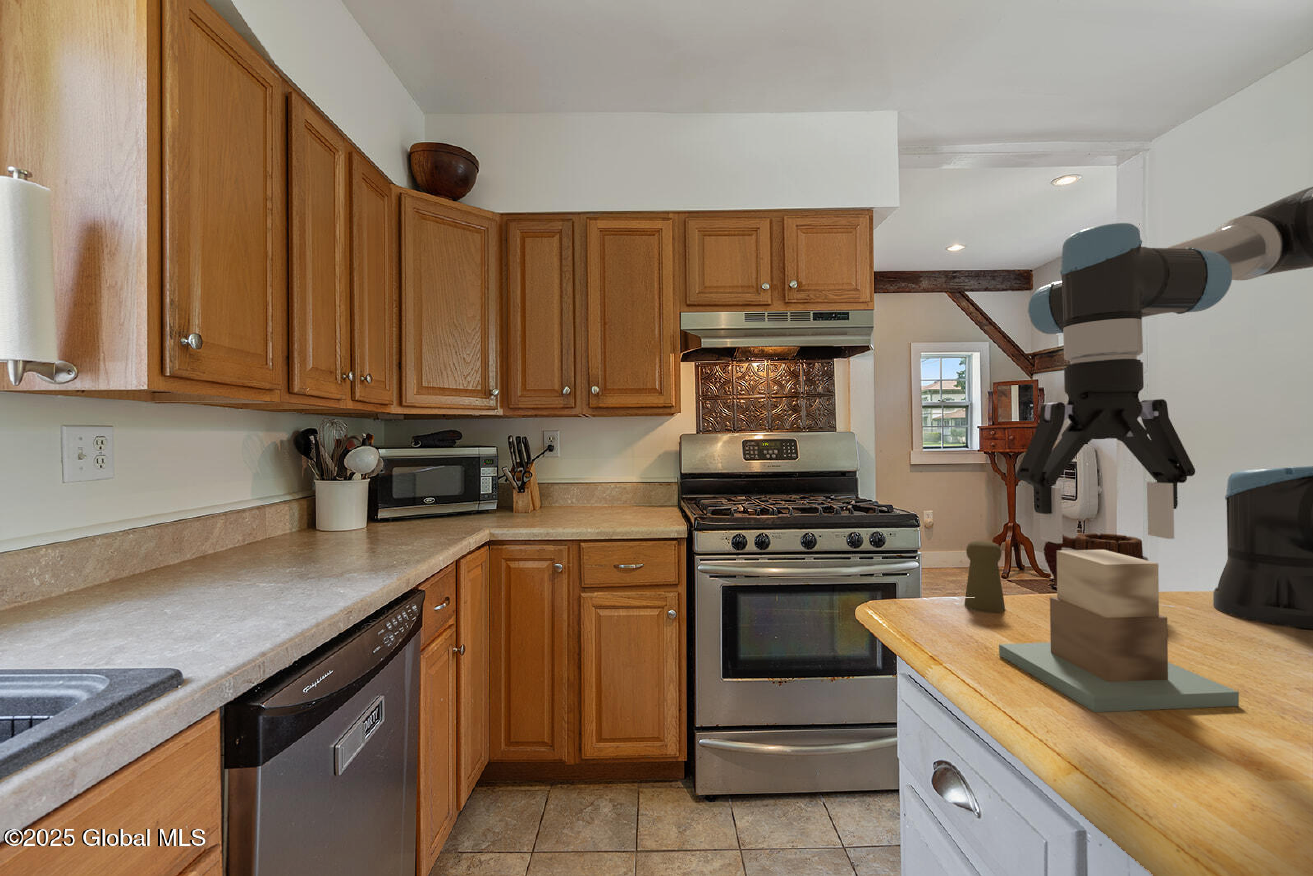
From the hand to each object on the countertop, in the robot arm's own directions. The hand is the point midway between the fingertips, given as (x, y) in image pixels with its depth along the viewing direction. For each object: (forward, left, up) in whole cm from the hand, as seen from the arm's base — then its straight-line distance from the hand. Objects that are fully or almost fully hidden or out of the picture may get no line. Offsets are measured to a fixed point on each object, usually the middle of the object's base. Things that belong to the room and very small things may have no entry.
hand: (1106, 539), depth 71 cm
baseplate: (0, 0, -17) cm, 17 cm away
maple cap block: (0, 0, -8) cm, 8 cm away
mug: (-21, -27, -17) cm, 38 cm away
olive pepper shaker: (-3, -29, -17) cm, 34 cm away
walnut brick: (0, 0, -15) cm, 15 cm away
